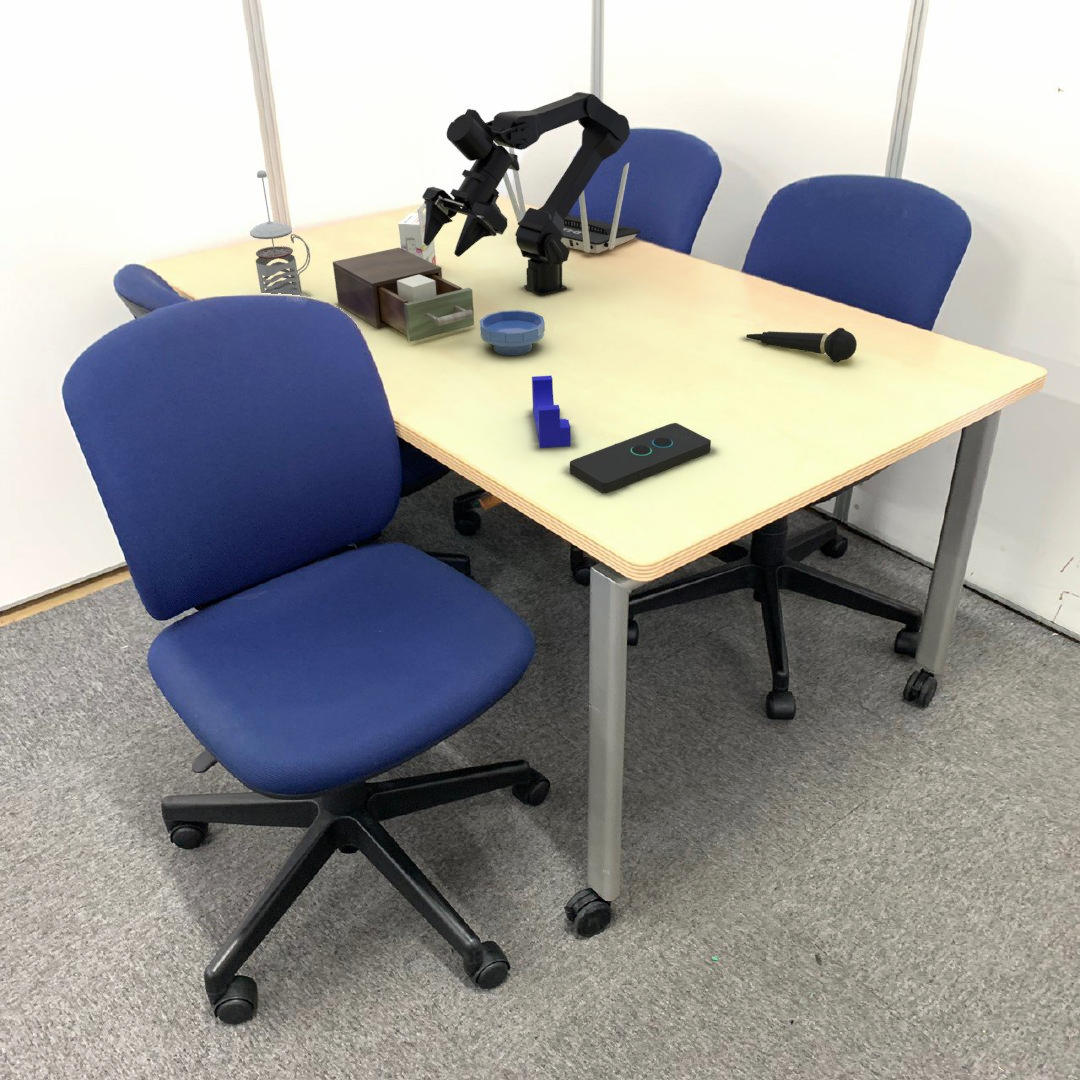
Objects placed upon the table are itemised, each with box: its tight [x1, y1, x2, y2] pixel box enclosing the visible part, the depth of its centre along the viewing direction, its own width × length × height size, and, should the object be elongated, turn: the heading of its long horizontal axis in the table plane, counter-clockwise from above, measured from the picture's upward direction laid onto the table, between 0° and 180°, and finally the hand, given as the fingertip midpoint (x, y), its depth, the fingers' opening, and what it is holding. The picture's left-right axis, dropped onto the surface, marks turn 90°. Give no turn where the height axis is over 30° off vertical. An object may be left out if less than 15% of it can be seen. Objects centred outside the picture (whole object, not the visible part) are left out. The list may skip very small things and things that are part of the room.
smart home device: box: [569, 422, 712, 494], centre depth 144 cm, size 8×2×20 cm
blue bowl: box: [479, 309, 546, 356], centre depth 180 cm, size 11×11×5 cm
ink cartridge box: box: [397, 202, 437, 265], centre depth 213 cm, size 9×5×15 cm, turn 168°
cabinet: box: [332, 247, 443, 329], centre depth 198 cm, size 17×15×9 cm
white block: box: [397, 275, 436, 302], centre depth 187 cm, size 5×5×7 cm
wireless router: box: [502, 147, 642, 254], centre depth 228 cm, size 34×23×20 cm
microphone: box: [745, 327, 858, 364], centre depth 176 cm, size 6×6×20 cm
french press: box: [249, 170, 311, 297], centre depth 199 cm, size 10×12×25 cm
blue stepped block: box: [531, 375, 572, 449], centre depth 152 cm, size 12×4×6 cm, turn 5°
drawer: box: [376, 274, 475, 343], centre depth 187 cm, size 21×13×7 cm, turn 35°
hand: (440, 249), depth 186 cm, fingers open, 9 cm apart
